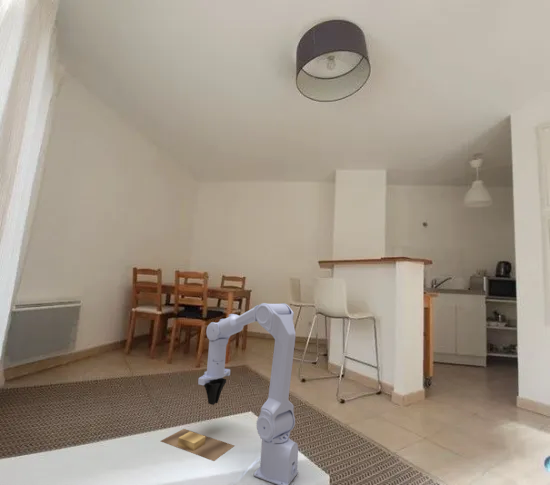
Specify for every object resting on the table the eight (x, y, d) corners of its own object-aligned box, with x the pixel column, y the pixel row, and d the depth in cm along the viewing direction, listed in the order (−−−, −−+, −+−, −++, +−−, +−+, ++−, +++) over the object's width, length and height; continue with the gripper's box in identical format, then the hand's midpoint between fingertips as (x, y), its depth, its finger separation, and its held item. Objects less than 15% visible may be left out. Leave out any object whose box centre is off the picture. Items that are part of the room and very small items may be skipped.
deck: (234, 451, 92) (234, 445, 92) (213, 467, 83) (214, 461, 84) (183, 433, 101) (183, 428, 101) (159, 446, 92) (160, 441, 93)
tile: (204, 443, 92) (205, 436, 93) (193, 451, 88) (194, 443, 88) (189, 438, 95) (190, 431, 95) (177, 445, 91) (178, 437, 91)
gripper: (219, 354, 111) (216, 394, 109) (192, 361, 98) (188, 407, 96) (236, 357, 108) (233, 398, 106) (210, 365, 95) (206, 412, 93)
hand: (213, 403), depth 101 cm, fingers closed
